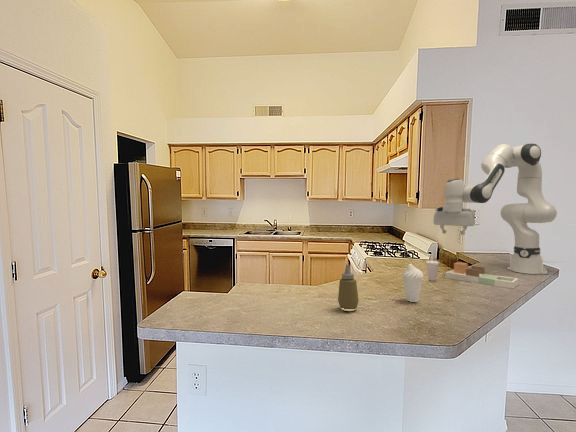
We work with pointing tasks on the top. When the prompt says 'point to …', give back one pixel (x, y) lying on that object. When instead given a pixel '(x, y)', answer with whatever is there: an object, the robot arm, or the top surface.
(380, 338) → the top surface
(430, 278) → the smoothie
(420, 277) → the soft serve ice cream cone
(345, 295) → the squeeze bottle
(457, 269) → the block
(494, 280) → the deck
